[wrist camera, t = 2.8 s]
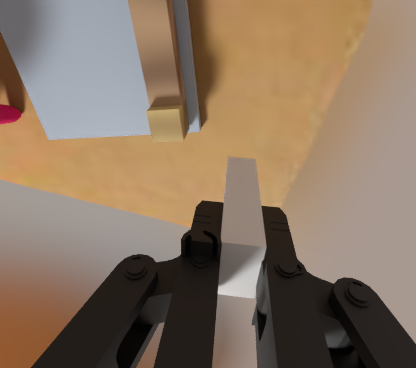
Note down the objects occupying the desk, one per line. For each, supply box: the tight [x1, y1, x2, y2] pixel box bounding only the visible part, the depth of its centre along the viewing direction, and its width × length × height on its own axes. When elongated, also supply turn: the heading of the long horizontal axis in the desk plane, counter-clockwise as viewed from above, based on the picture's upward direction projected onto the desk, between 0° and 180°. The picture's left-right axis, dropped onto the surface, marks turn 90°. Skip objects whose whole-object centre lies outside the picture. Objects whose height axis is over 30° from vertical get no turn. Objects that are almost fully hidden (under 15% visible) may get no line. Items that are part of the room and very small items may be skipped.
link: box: [128, 0, 190, 142], centre depth 21 cm, size 18×5×4 cm, turn 5°
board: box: [0, 0, 201, 140], centre depth 20 cm, size 24×18×7 cm
